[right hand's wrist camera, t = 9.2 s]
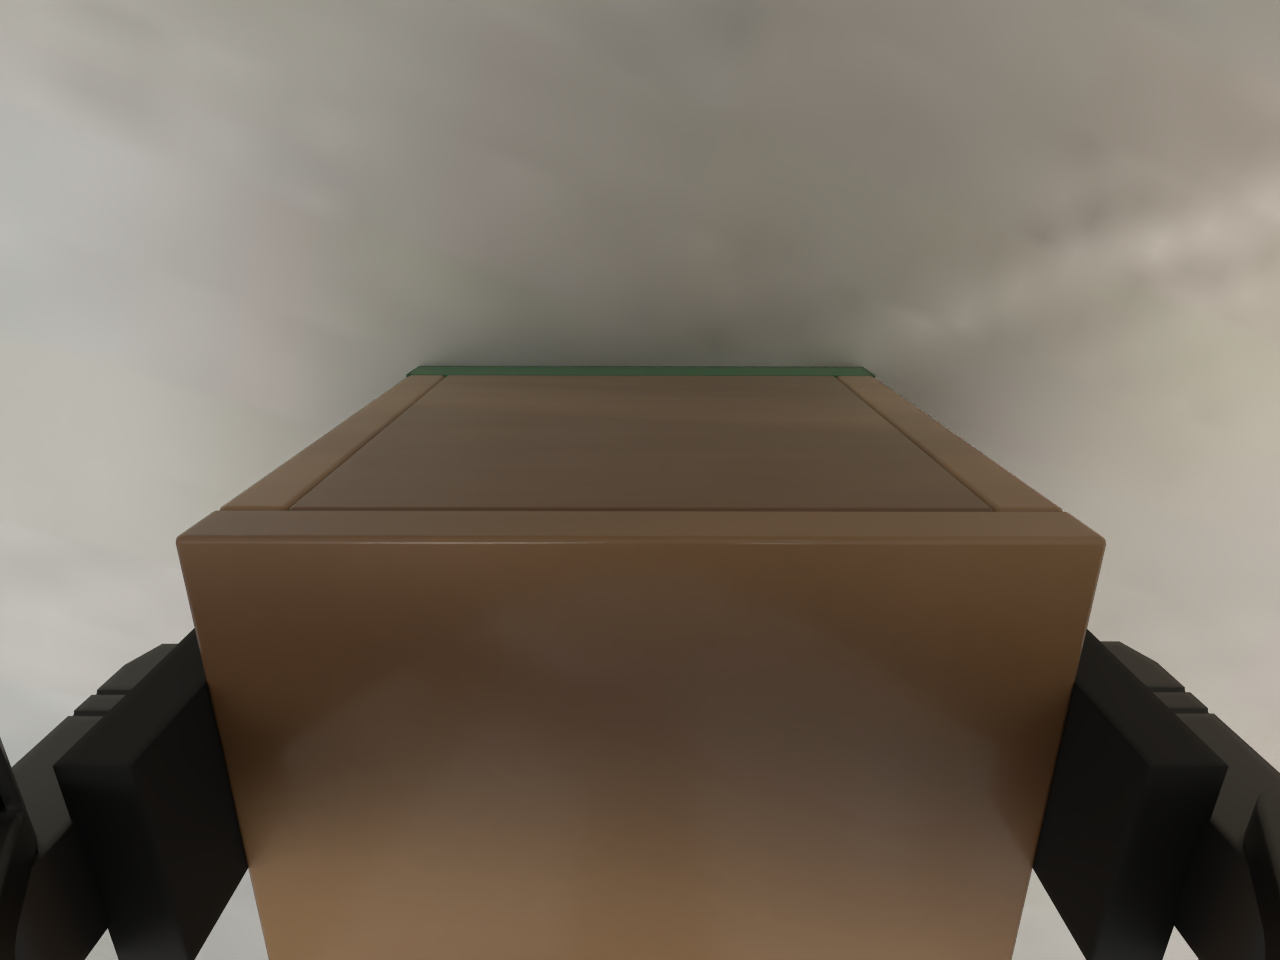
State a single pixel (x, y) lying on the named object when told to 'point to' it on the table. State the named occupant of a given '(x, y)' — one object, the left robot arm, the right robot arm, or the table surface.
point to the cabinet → (640, 671)
